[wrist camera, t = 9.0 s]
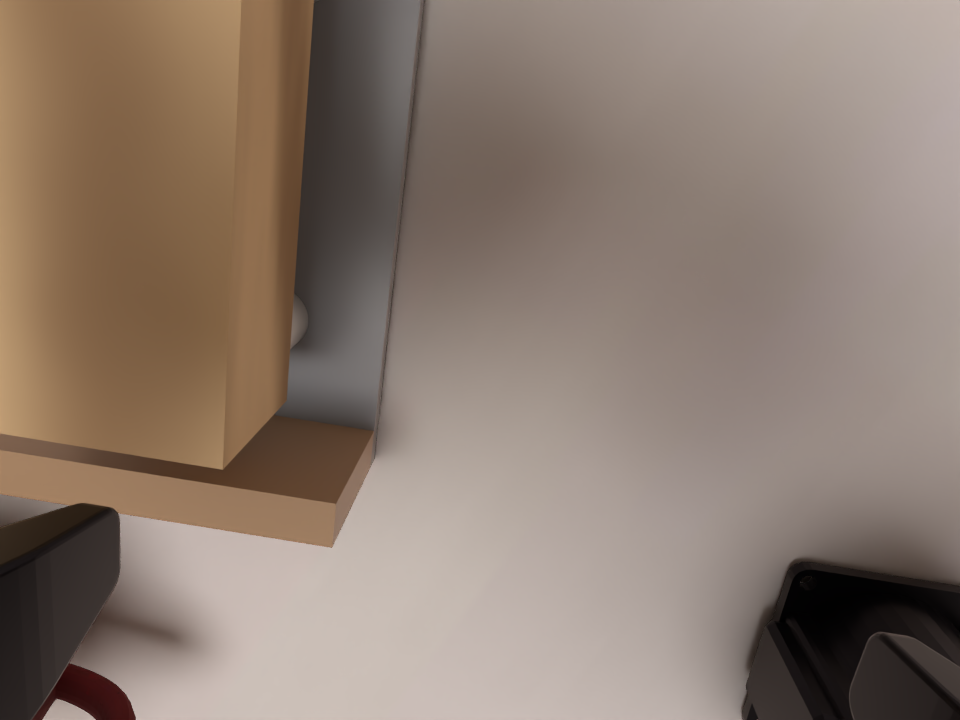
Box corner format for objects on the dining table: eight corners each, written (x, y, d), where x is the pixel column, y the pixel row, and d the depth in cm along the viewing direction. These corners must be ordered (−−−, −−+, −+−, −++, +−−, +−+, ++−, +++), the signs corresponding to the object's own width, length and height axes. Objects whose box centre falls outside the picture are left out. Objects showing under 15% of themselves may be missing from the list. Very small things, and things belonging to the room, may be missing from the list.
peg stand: (446, -208, 16) (415, -352, 12) (374, 458, 22) (331, 547, 17) (72, -262, 17) (-111, -427, 12) (90, 413, 22) (-32, 489, 17)
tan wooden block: (323, -138, 14) (250, -240, 11) (286, 400, 18) (223, 469, 14) (85, -174, 14) (-72, -288, 11) (96, 370, 18) (-18, 430, 14)
